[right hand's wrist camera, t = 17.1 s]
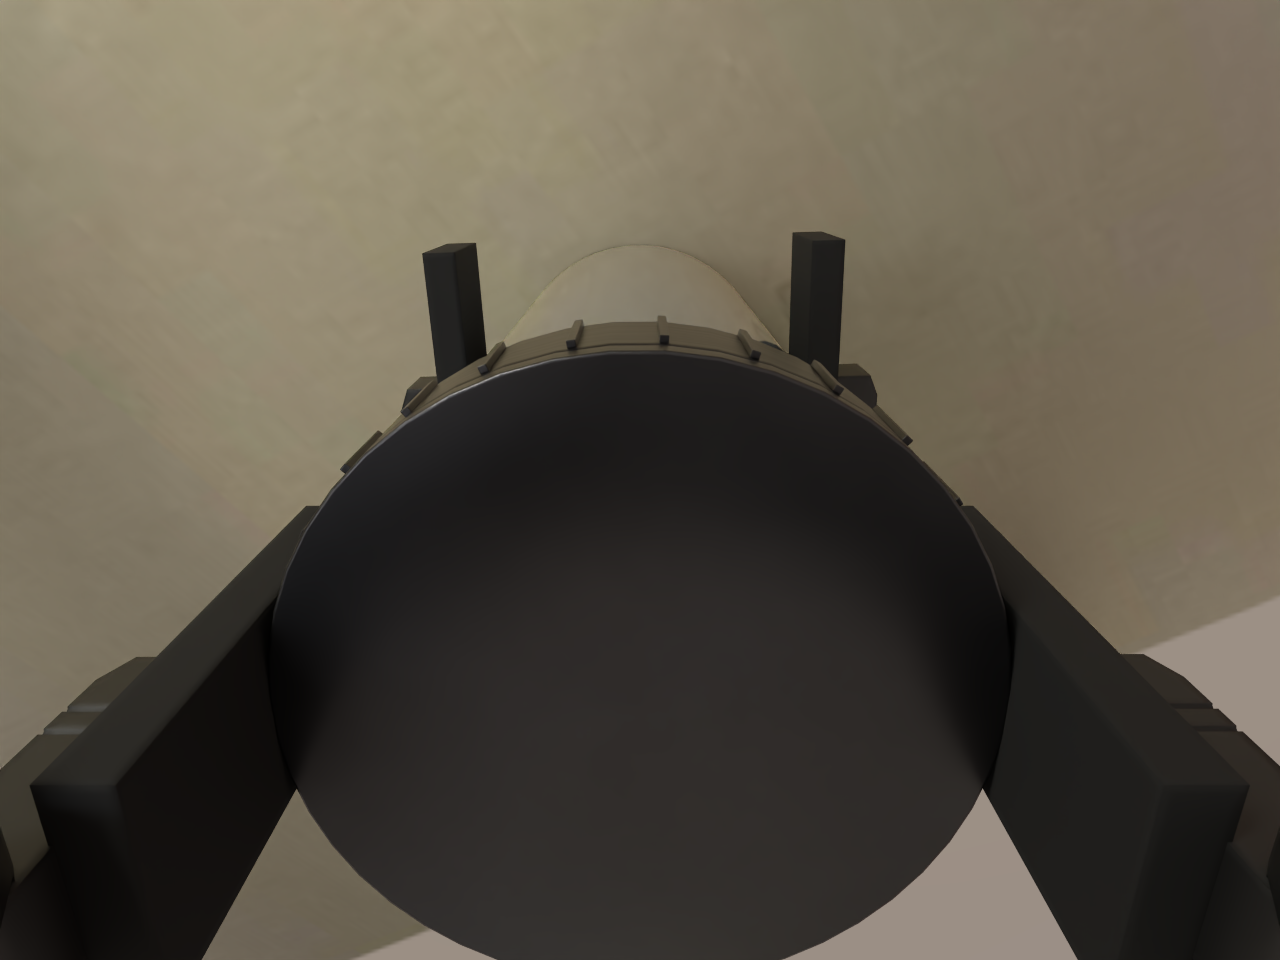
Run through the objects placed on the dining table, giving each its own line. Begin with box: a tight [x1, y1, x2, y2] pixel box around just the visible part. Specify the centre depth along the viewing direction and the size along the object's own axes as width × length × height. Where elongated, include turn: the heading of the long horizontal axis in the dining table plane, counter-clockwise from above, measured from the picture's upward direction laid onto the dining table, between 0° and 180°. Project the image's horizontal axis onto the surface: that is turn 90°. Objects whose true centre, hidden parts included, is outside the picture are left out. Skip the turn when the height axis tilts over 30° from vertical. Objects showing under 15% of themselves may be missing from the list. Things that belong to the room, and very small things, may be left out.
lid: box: [268, 315, 1011, 960], centre depth 11 cm, size 9×9×2 cm
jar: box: [503, 245, 786, 353], centre depth 20 cm, size 8×8×19 cm
